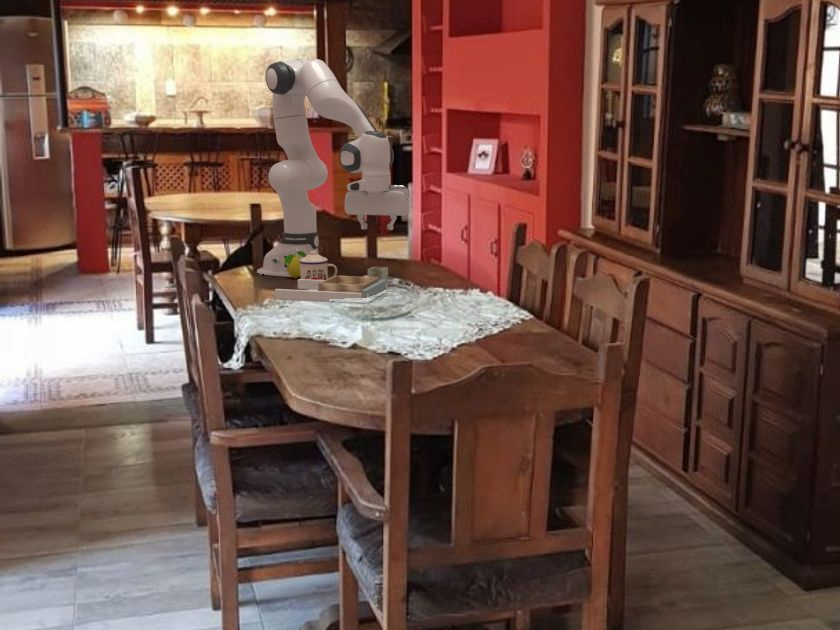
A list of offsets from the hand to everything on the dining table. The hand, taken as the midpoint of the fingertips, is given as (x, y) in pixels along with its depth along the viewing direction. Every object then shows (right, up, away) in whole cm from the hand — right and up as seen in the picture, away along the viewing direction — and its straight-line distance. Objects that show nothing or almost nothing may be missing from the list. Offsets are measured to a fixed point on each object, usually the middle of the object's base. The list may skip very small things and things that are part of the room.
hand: (377, 229), depth 335 cm
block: (0, -19, +4) cm, 19 cm away
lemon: (-28, -15, +26) cm, 41 cm away
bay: (-13, -22, -10) cm, 28 cm away
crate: (-8, -21, -12) cm, 26 cm away
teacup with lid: (-19, -18, +10) cm, 28 cm away
